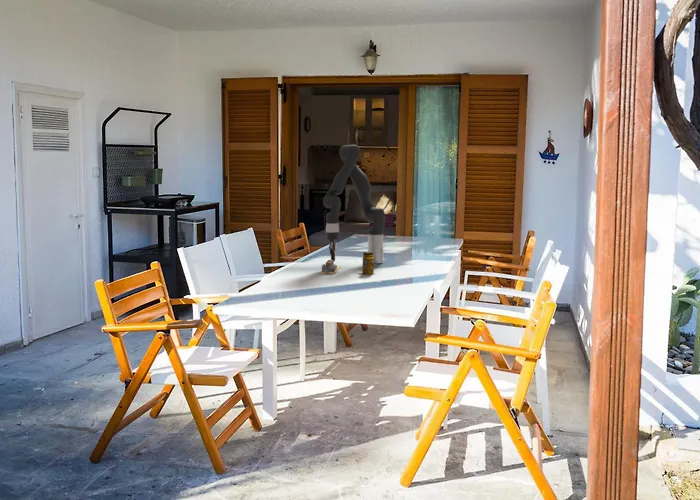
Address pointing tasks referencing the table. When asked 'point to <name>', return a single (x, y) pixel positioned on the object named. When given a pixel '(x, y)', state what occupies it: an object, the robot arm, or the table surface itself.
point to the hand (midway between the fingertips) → (333, 261)
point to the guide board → (329, 269)
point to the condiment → (368, 264)
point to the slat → (330, 262)
